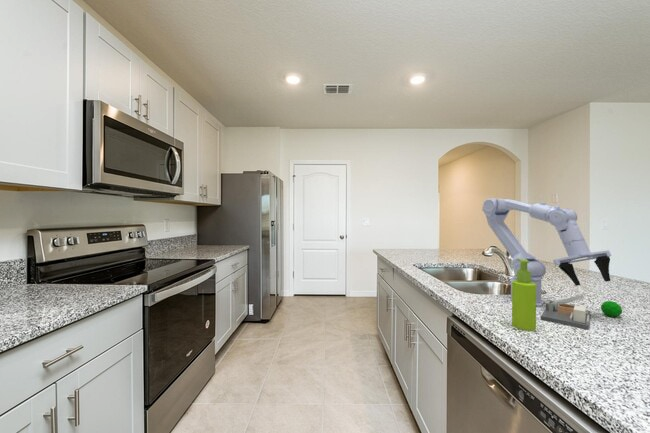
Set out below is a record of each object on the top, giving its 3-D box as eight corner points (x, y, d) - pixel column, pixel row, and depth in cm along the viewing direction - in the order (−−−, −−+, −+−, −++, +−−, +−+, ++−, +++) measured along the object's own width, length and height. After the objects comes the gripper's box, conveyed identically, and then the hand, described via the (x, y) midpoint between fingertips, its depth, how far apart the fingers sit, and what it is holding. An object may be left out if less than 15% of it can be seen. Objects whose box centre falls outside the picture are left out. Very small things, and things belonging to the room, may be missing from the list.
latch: (573, 320, 85) (573, 309, 85) (574, 316, 89) (574, 305, 89) (585, 323, 83) (585, 311, 83) (586, 318, 87) (586, 307, 87)
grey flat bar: (551, 306, 94) (549, 304, 94) (552, 304, 96) (550, 302, 96) (583, 299, 88) (581, 296, 88) (583, 297, 90) (582, 294, 91)
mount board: (540, 319, 89) (540, 307, 89) (548, 306, 102) (548, 296, 102) (588, 329, 81) (588, 316, 81) (590, 314, 94) (590, 303, 94)
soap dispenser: (530, 323, 86) (530, 258, 86) (539, 331, 80) (539, 261, 80) (508, 320, 88) (508, 257, 88) (515, 329, 82) (515, 260, 82)
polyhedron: (597, 314, 94) (597, 300, 94) (605, 312, 96) (605, 298, 96) (617, 319, 89) (617, 304, 89) (625, 317, 91) (625, 303, 91)
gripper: (551, 245, 93) (569, 286, 88) (606, 234, 88) (628, 278, 83) (546, 248, 99) (562, 287, 94) (597, 239, 94) (617, 280, 89)
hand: (592, 283), depth 89 cm, fingers open, 7 cm apart
